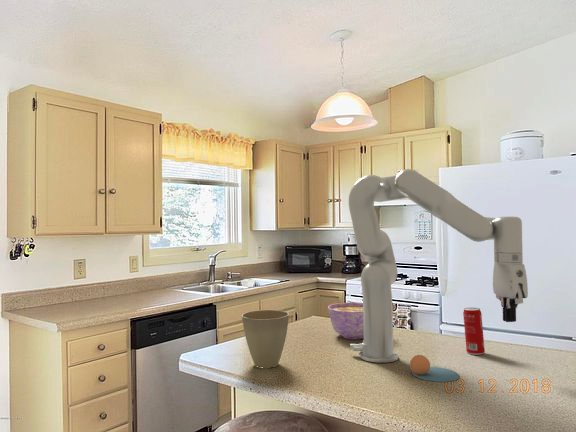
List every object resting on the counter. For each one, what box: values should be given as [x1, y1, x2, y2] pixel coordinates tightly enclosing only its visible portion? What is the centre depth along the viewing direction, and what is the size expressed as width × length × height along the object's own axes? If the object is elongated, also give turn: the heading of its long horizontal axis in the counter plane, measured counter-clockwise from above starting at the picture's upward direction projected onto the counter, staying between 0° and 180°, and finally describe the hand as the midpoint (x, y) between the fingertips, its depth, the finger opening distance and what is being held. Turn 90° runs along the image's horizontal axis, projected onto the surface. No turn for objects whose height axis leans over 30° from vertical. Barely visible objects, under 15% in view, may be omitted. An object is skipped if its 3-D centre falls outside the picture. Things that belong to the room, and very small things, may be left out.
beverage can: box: [462, 307, 486, 356], centre depth 153 cm, size 6×6×15 cm
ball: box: [409, 354, 431, 375], centre depth 132 cm, size 6×6×6 cm
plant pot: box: [241, 309, 290, 369], centre depth 143 cm, size 15×15×16 cm
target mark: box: [411, 366, 460, 383], centre depth 132 cm, size 13×13×1 cm
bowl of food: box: [327, 302, 364, 340], centre depth 177 cm, size 20×20×12 cm
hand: (509, 321), depth 133 cm, fingers closed
